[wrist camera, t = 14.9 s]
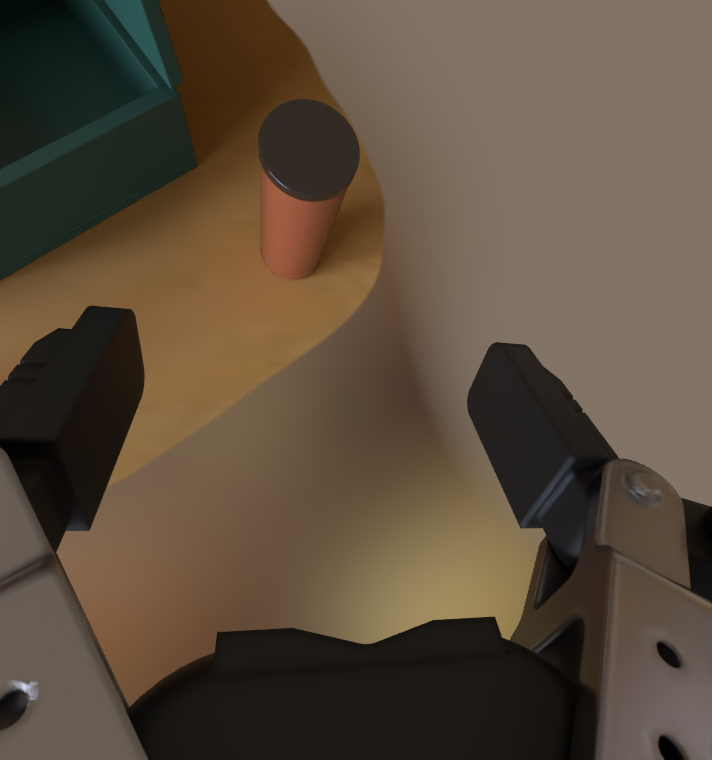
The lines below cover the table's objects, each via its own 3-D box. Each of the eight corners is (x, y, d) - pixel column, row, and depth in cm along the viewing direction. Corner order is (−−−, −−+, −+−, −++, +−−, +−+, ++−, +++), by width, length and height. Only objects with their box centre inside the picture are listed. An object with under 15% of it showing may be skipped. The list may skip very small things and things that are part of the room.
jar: (285, 293, 30) (300, 214, 18) (246, 241, 30) (236, 128, 18) (334, 259, 31) (379, 163, 19) (297, 209, 31) (319, 81, 19)
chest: (-6, 283, 26) (-97, 239, 19) (-159, 96, 25) (-309, -18, 19) (198, 166, 29) (179, 93, 23) (69, -5, 28) (11, -132, 22)
